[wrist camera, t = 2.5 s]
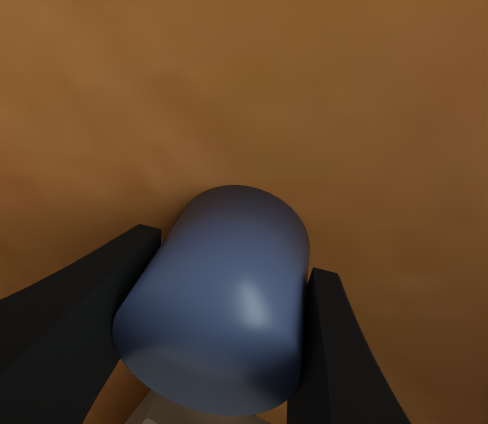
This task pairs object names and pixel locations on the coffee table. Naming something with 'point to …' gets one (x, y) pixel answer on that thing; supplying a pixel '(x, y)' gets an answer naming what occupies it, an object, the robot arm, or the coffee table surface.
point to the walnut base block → (180, 414)
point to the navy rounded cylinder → (221, 305)
